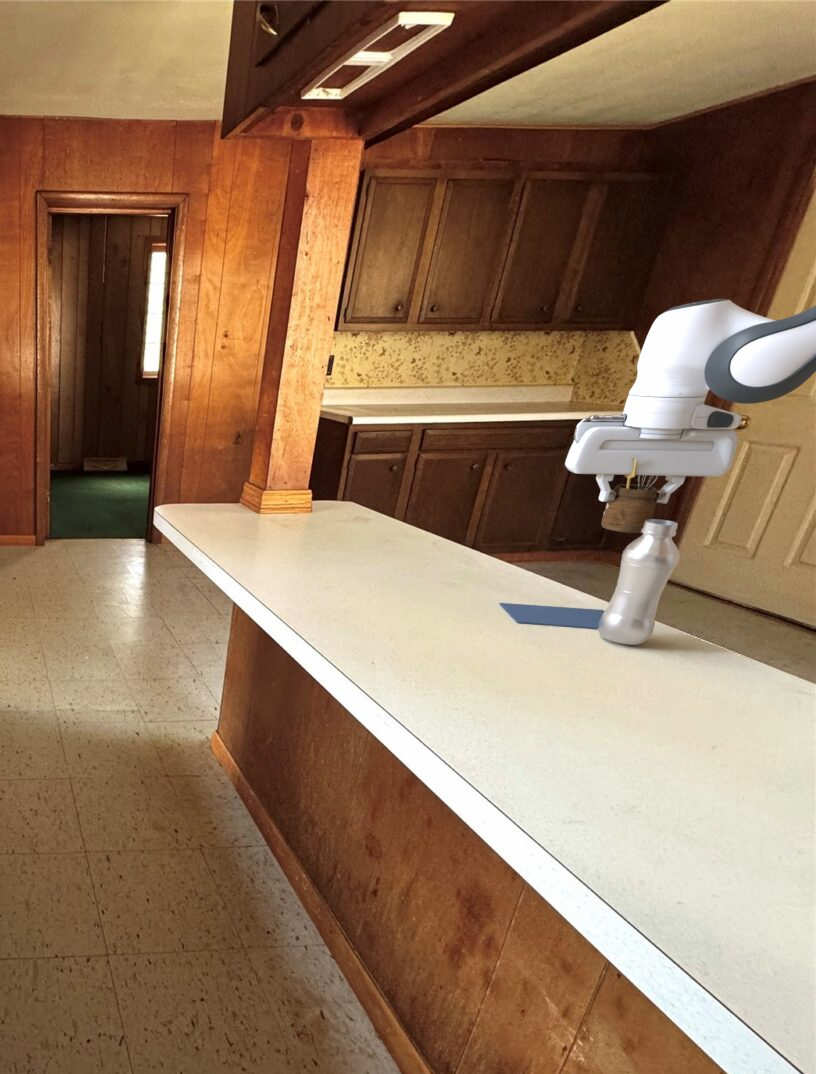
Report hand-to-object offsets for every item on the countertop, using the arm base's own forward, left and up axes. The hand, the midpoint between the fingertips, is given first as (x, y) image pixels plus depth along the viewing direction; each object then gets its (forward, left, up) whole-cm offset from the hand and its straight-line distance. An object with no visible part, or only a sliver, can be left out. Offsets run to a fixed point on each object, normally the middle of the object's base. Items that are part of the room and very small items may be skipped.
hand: (632, 501), depth 108 cm
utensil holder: (0, 0, -5) cm, 5 cm away
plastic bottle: (0, +9, -21) cm, 23 cm away
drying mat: (+5, 0, -21) cm, 22 cm away
